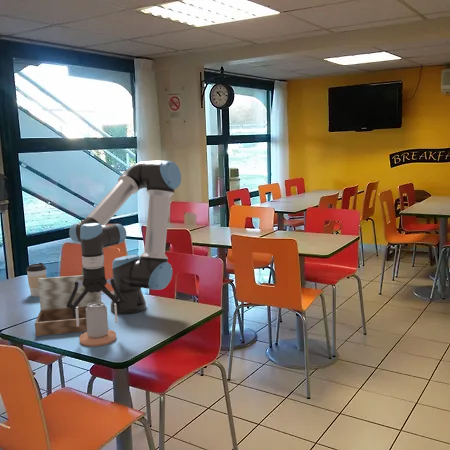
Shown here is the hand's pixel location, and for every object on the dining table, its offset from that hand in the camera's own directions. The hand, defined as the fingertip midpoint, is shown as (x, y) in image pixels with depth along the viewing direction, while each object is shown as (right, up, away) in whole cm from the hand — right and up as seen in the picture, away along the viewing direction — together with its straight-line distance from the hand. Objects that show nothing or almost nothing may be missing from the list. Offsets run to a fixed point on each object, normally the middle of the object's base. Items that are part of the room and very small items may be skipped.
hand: (97, 323), depth 183 cm
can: (0, -5, +1) cm, 5 cm away
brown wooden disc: (0, -6, +1) cm, 6 cm away
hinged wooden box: (-15, -4, +16) cm, 22 cm away
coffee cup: (-44, +2, +61) cm, 75 cm away
